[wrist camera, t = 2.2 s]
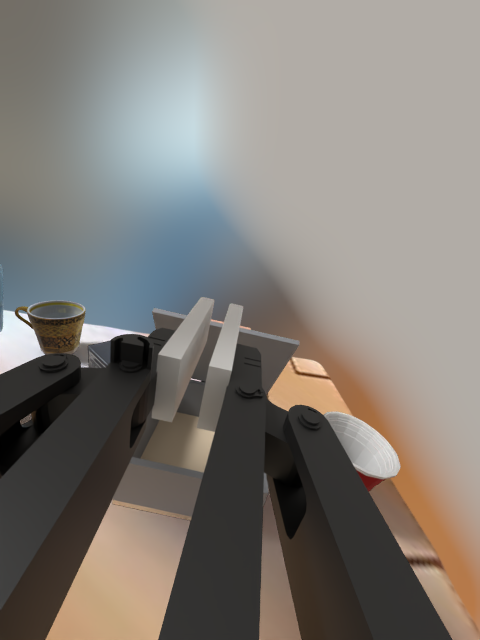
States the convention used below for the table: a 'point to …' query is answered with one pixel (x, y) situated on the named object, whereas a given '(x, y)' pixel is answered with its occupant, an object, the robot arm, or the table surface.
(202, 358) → the lid
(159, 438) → the grey open rectangular box
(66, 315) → the ceramic cup
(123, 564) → the table surface
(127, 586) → the table surface
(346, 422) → the plastic cup
